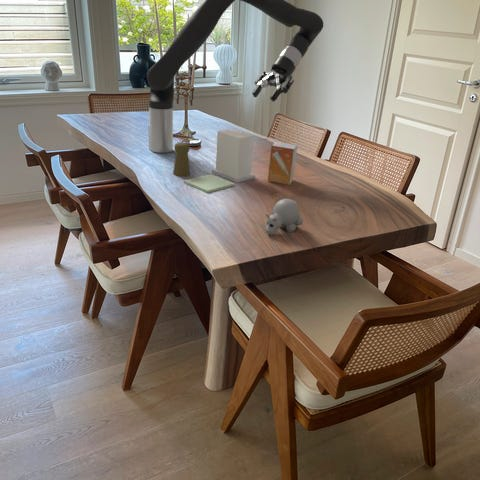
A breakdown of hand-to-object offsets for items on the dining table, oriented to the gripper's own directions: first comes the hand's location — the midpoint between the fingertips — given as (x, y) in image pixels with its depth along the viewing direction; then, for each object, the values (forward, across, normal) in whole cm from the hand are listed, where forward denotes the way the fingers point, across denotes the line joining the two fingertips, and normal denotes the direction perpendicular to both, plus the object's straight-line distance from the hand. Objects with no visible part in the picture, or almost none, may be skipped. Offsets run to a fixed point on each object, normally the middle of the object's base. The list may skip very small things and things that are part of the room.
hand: (262, 97), depth 162 cm
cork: (+38, -12, 0) cm, 39 cm away
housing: (+27, 0, +10) cm, 29 cm away
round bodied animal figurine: (+43, +41, -6) cm, 60 cm away
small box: (+20, +14, +17) cm, 30 cm away
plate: (+37, +2, 0) cm, 37 cm away
